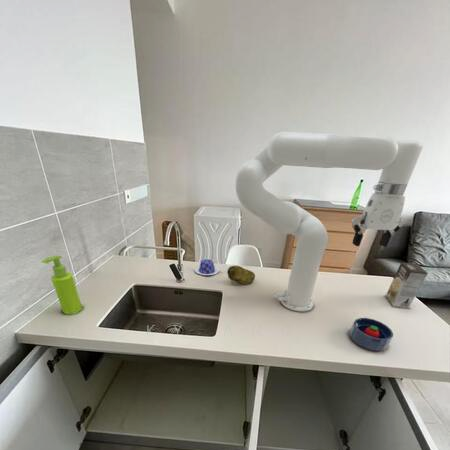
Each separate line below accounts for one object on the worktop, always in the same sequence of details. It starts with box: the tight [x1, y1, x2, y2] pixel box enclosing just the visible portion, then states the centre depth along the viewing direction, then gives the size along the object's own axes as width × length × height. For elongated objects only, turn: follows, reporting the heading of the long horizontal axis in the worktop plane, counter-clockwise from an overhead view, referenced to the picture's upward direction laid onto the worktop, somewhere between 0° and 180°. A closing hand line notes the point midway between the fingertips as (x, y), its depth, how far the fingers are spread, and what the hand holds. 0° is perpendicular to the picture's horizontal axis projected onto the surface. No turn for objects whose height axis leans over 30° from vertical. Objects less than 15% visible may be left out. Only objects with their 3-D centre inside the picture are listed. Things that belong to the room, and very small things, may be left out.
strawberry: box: [364, 326, 379, 338], centre depth 78 cm, size 4×4×5 cm
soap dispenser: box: [41, 254, 83, 315], centre depth 81 cm, size 6×7×20 cm
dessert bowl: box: [349, 317, 394, 352], centre depth 79 cm, size 11×11×5 cm
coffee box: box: [385, 261, 429, 309], centre depth 98 cm, size 9×6×16 cm
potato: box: [226, 265, 256, 285], centre depth 108 cm, size 8×13×8 cm, turn 89°
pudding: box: [194, 258, 220, 276], centre depth 118 cm, size 12×12×5 cm
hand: (369, 245), depth 81 cm, fingers open, 9 cm apart
